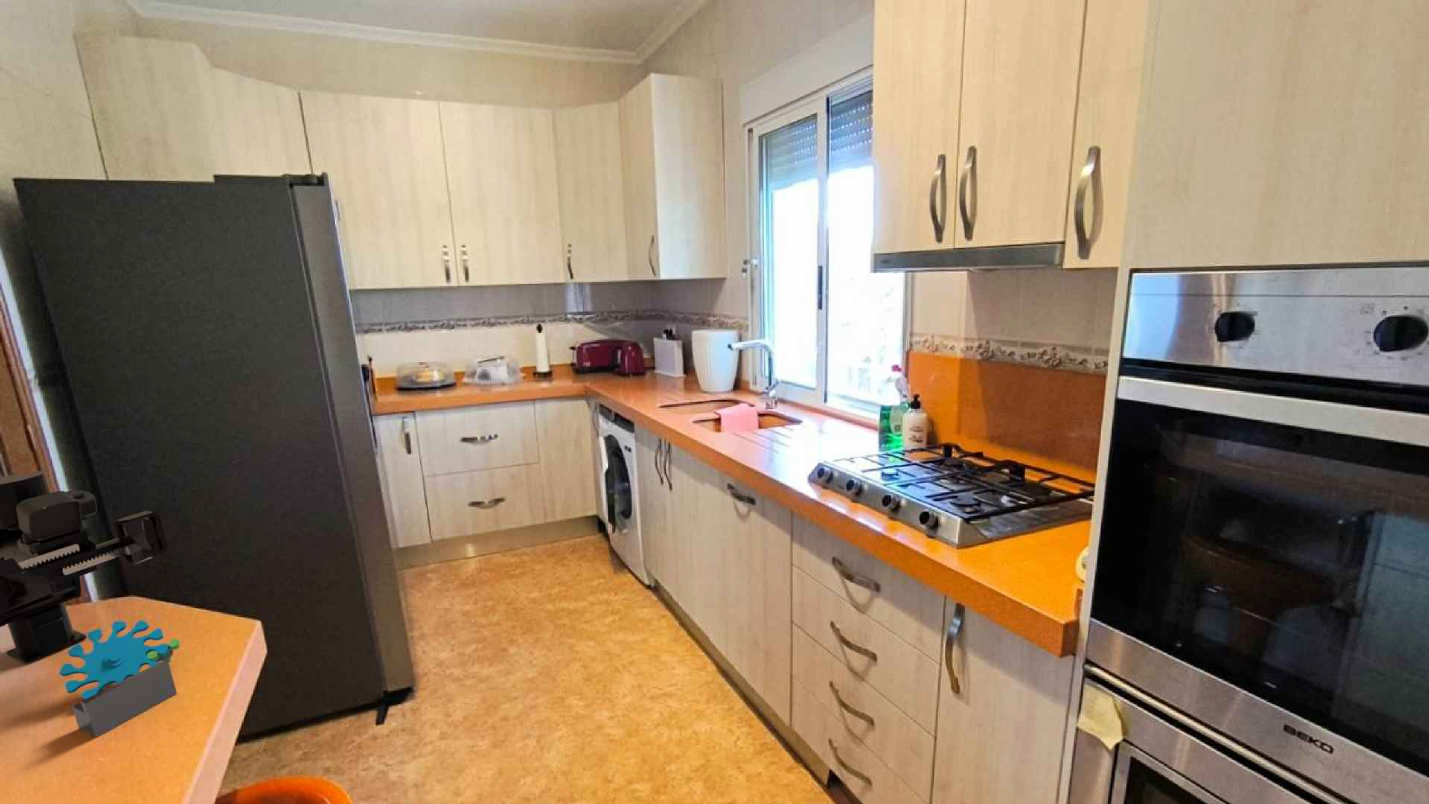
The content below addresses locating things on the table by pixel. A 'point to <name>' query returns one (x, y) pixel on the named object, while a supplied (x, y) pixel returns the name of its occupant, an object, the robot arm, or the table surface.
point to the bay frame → (125, 700)
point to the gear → (116, 657)
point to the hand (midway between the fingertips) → (104, 569)
